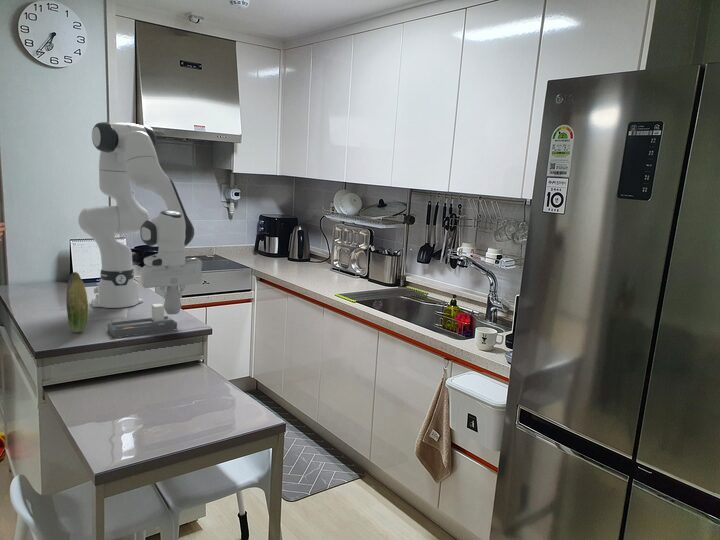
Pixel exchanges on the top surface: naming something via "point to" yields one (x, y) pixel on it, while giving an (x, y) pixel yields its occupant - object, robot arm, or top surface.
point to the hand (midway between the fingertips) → (172, 298)
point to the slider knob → (157, 312)
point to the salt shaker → (172, 299)
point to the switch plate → (140, 326)
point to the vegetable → (76, 303)
